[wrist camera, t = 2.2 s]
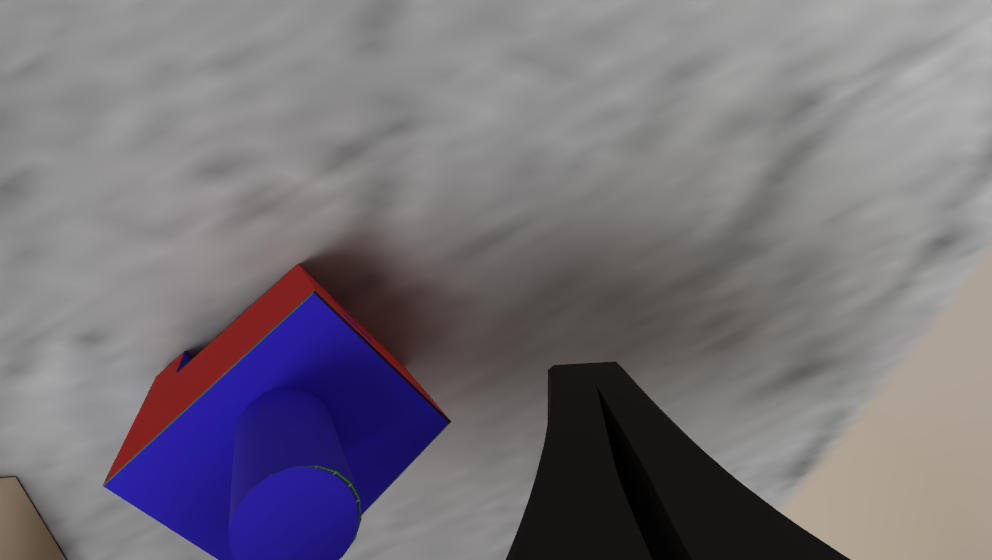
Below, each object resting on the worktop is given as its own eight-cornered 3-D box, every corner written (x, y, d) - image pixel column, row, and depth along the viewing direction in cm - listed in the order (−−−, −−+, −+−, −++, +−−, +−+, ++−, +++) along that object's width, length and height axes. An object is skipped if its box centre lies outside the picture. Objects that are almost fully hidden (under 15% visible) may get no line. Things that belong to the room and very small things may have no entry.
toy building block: (388, 348, 15) (516, 497, 8) (269, 464, 14) (290, 749, 7) (292, 254, 14) (339, 330, 6) (155, 377, 13) (32, 623, 6)
